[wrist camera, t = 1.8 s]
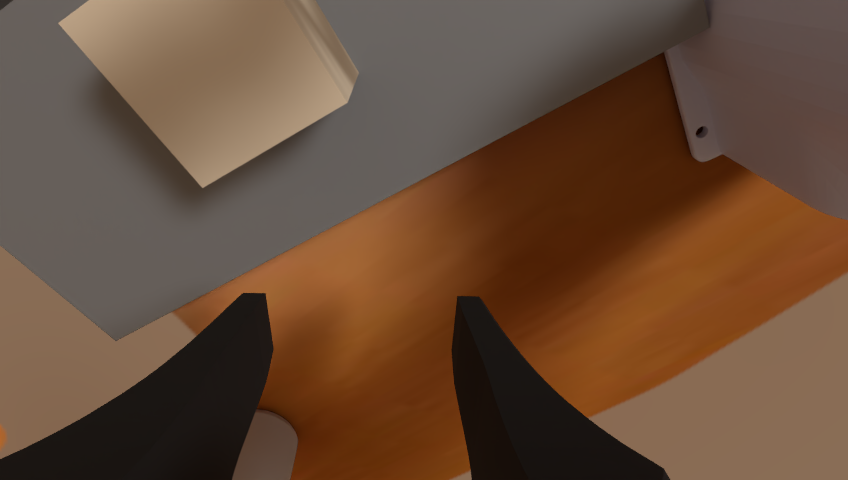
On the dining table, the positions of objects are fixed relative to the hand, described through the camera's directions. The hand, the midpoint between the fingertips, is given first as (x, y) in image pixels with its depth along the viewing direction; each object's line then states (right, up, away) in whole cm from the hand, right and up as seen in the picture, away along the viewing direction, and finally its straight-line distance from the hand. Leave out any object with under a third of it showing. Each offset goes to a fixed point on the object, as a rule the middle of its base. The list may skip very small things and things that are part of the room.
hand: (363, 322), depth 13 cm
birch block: (-4, +9, +2) cm, 10 cm away
